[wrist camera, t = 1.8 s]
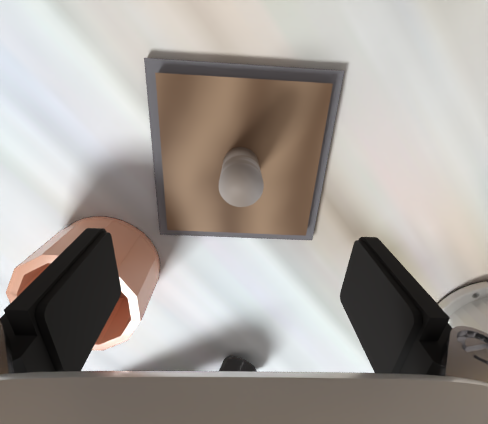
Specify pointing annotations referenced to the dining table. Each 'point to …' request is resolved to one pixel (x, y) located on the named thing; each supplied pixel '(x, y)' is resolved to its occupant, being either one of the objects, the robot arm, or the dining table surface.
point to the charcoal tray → (239, 72)
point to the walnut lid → (240, 152)
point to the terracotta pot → (129, 269)
